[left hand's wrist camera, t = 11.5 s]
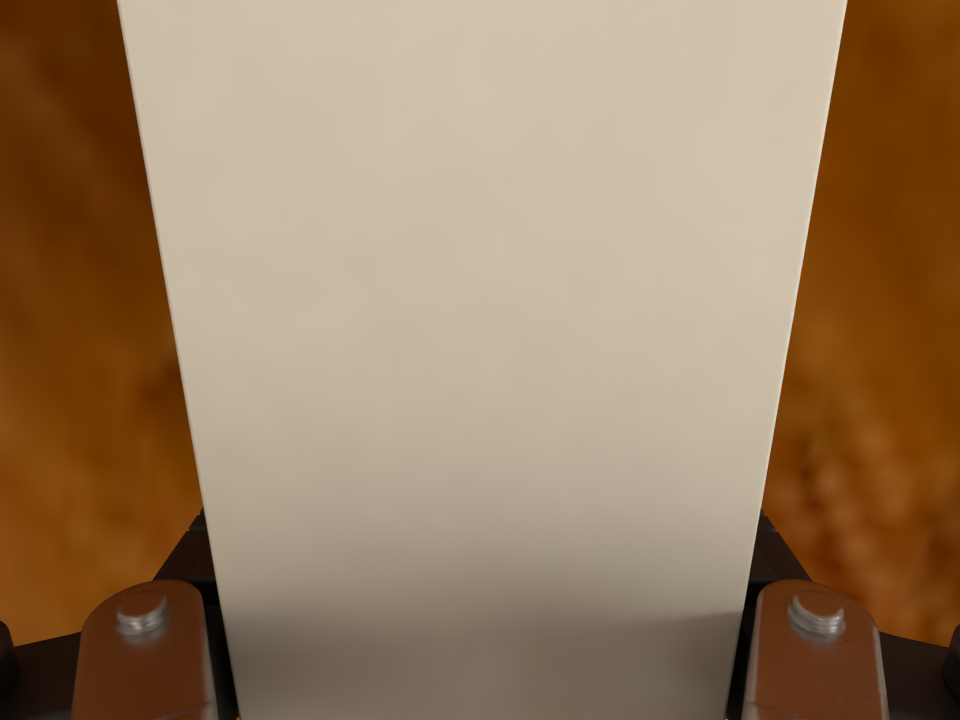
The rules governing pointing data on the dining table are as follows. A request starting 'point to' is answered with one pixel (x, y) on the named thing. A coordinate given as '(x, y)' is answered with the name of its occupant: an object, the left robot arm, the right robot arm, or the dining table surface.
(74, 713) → the left robot arm
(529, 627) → the bar
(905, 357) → the dining table surface
